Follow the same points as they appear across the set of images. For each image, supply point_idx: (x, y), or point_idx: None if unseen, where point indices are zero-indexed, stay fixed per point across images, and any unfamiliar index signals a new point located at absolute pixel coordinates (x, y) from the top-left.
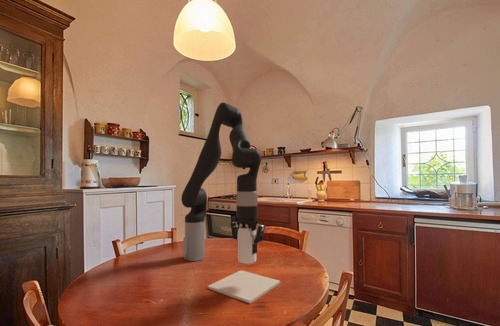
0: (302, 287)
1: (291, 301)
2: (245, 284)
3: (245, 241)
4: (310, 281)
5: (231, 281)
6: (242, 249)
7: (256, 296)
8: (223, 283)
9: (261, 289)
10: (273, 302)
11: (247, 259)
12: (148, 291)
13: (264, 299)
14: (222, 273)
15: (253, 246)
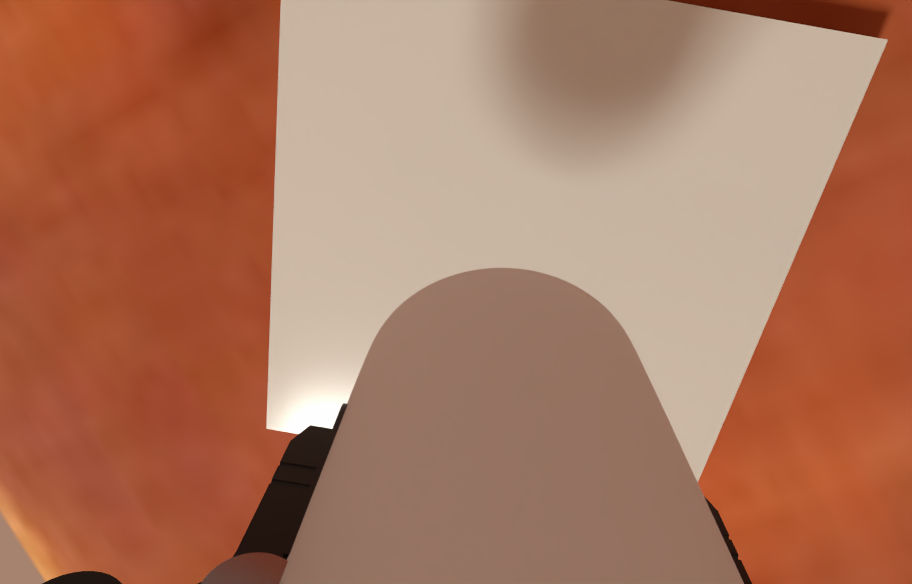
0: (95, 413)
1: (27, 159)
2: (505, 246)
3: (412, 542)
4: (102, 518)
5: (670, 249)
6: (511, 379)
7: (281, 55)
8: (733, 173)
9: (319, 215)
10: (133, 71)
11: (422, 310)
12: None
13: (228, 87)
14: (853, 407)
15: (290, 529)
